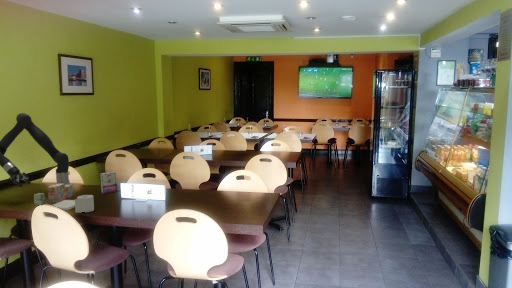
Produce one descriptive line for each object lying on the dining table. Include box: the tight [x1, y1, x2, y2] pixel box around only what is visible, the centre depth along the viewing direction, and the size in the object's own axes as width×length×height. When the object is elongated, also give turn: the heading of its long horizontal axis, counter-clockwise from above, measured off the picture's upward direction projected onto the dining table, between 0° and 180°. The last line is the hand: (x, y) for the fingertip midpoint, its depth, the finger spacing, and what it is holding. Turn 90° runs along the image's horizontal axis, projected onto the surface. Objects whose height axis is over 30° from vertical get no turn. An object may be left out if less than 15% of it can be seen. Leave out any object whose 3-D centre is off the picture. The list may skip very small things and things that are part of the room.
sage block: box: [33, 192, 46, 206], centre depth 311 cm, size 5×5×8 cm
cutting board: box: [53, 199, 75, 211], centre depth 307 cm, size 20×16×2 cm
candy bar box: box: [99, 171, 117, 195], centre depth 347 cm, size 11×5×16 cm, turn 129°
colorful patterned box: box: [47, 183, 74, 204], centre depth 326 cm, size 21×6×12 cm, turn 169°
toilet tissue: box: [74, 194, 95, 214], centre depth 293 cm, size 11×12×10 cm
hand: (26, 185), depth 312 cm, fingers open, 8 cm apart
